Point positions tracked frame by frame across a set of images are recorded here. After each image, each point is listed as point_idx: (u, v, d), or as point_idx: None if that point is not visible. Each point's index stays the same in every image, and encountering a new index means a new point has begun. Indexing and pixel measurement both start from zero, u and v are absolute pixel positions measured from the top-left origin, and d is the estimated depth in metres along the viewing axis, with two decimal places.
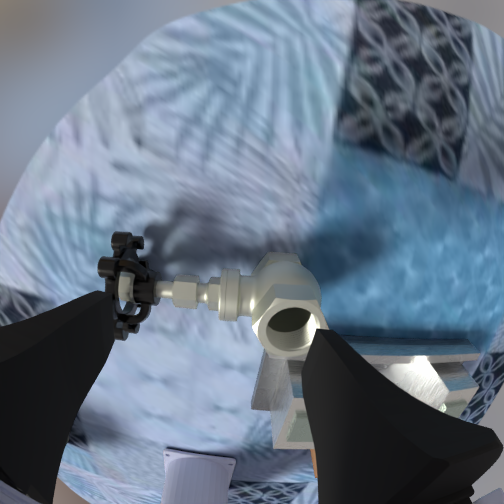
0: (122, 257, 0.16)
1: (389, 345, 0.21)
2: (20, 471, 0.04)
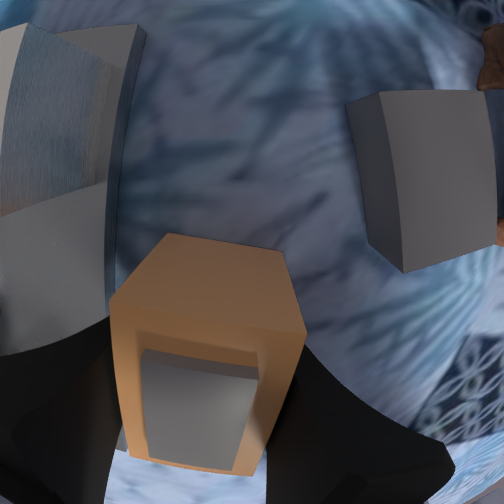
0: None
1: None
2: (77, 498, 0.04)
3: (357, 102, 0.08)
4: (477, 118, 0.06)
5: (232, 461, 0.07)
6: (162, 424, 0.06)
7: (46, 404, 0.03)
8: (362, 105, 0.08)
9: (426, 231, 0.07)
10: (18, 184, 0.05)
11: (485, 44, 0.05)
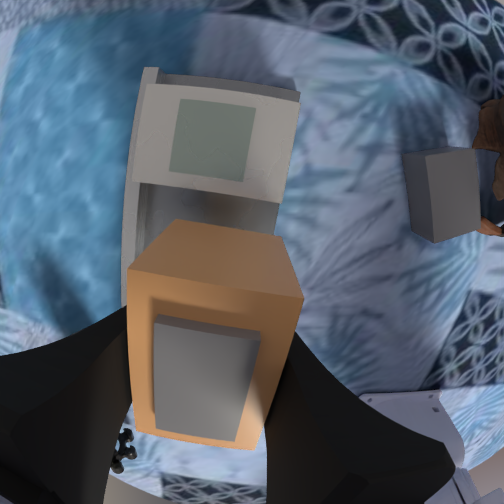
0: None
1: None
2: (76, 498, 0.04)
3: (410, 155, 0.15)
4: (470, 163, 0.13)
5: (235, 430, 0.08)
6: (170, 390, 0.07)
7: (45, 404, 0.03)
8: (413, 158, 0.15)
9: (444, 222, 0.15)
10: None
11: (479, 121, 0.13)
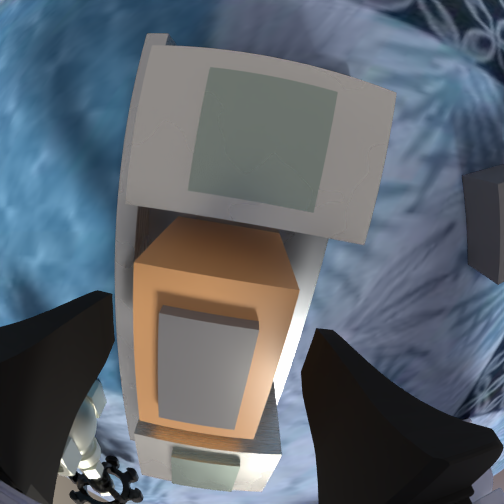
0: None
1: None
2: (20, 471, 0.04)
3: (475, 179, 0.11)
4: None
5: (235, 418, 0.08)
6: (173, 378, 0.08)
7: None
8: (480, 183, 0.11)
9: None
10: None
11: None
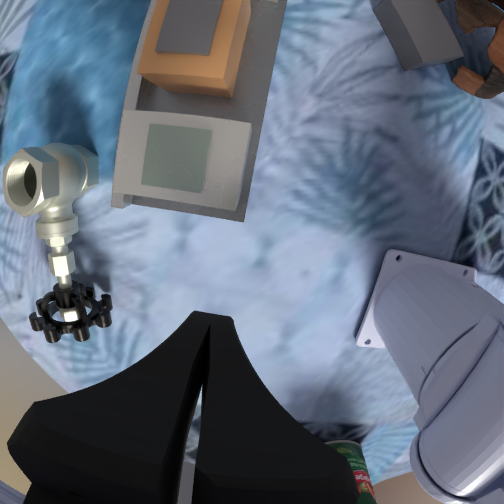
0: None
1: None
2: None
3: (378, 5, 0.13)
4: (431, 3, 0.12)
5: (209, 40, 0.10)
6: (174, 14, 0.10)
7: (167, 442, 0.03)
8: (381, 4, 0.13)
9: (426, 45, 0.13)
10: None
11: None
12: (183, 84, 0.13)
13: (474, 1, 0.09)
